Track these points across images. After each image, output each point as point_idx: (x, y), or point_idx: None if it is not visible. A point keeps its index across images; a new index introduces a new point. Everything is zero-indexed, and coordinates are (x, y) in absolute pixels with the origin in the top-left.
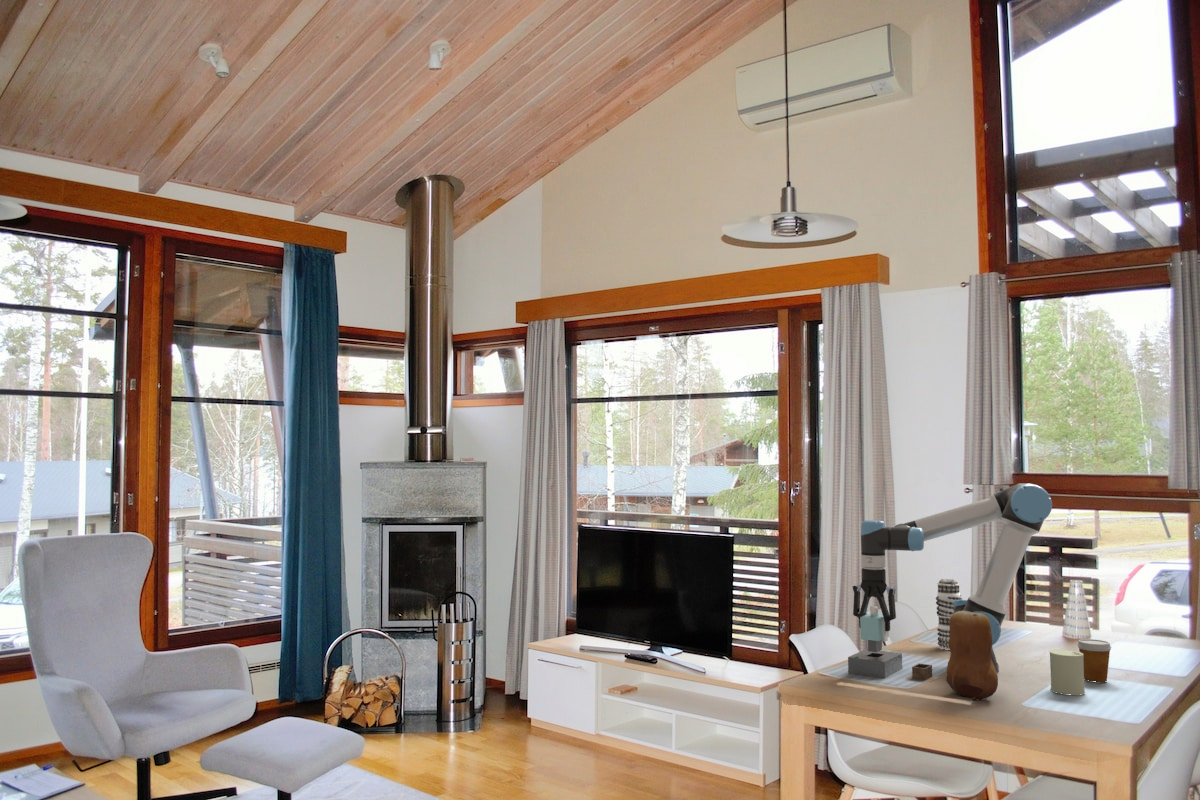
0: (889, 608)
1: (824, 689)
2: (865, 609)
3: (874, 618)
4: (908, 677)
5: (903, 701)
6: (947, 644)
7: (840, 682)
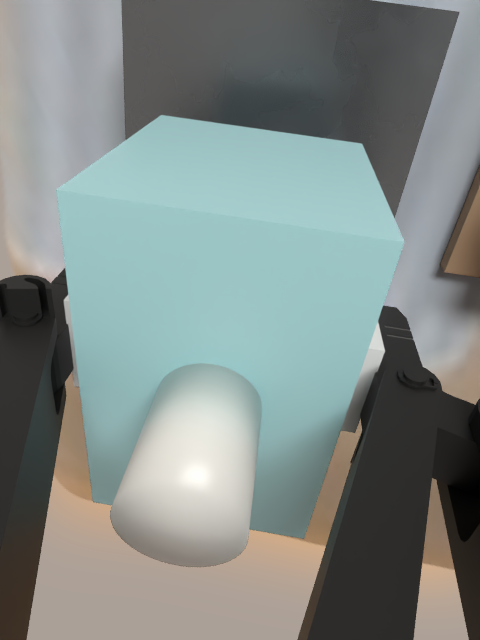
0: (474, 623)
1: None
2: (45, 449)
3: (257, 530)
4: (462, 254)
5: (428, 519)
6: None
7: None
